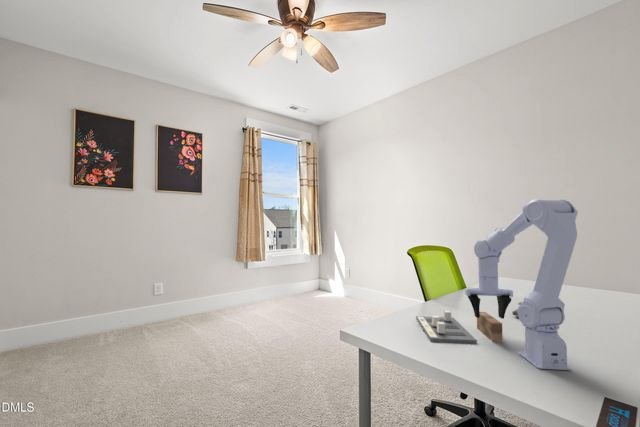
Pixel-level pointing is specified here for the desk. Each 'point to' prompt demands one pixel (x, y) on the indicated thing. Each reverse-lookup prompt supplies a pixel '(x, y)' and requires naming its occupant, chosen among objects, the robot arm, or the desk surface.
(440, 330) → the beige small block
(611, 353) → the desk surface
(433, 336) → the switch board
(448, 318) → the tab
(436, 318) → the tab
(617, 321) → the desk surface
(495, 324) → the pusher bar
